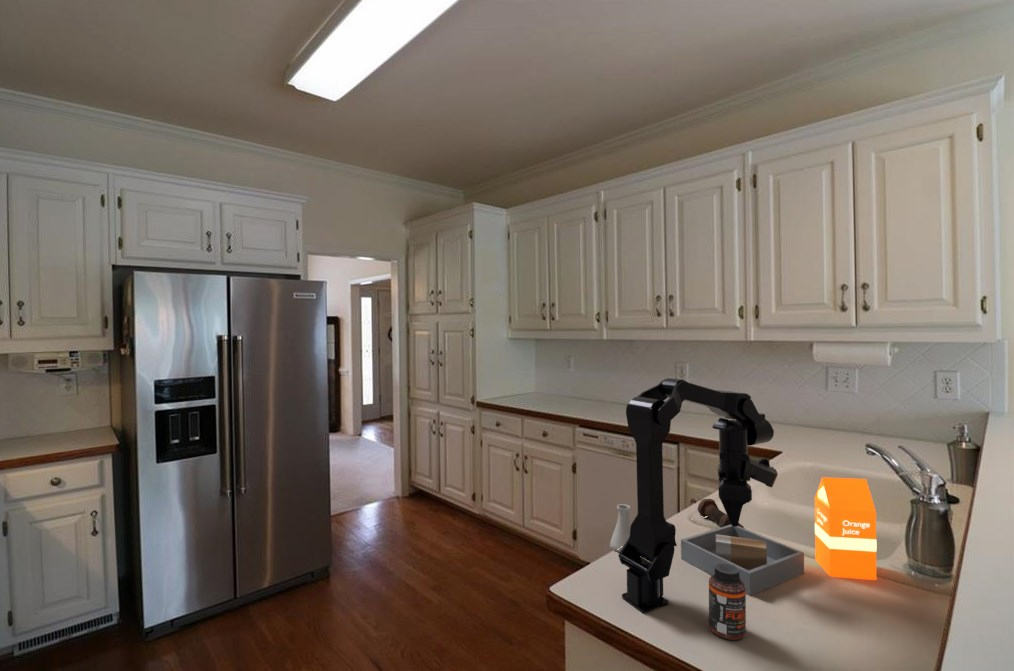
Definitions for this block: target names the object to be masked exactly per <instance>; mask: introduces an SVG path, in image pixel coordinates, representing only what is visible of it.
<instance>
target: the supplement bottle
mask: <svg viewBox="0 0 1014 671" xmlns="http://www.w3.org/2000/svg"><path fill="white" fill-rule="evenodd" d="M714 572H715V574H714V575H710V577H709V580H708V626H709V629H710V631H712V633H714V634H715V635H716V636H718V637H719V638H722V639H725V640H729V641H739V640H741V639H743V638H745V636H746V630H747V627H746V626H747V625H746V624H747V615H746V614H747V612H746V608H747V605H746V604H747V602H746V601H747V599H746V598H747V597H746V595H747V594H746V589H745V584H744V583H743V581H742V580H741V579H739V578H740V575H739V569H738V568H737V567H736V566H734V565H732V564H728V563H718V564H716V565H715V571H714Z"/></svg>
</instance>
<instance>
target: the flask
mask: <svg viewBox="0 0 1014 671" xmlns="http://www.w3.org/2000/svg"><path fill="white" fill-rule="evenodd" d="M616 510H617V512H618V515H617V521H616V524H615V528H614V530H613V534H612V536H611V540H610V542H609V546H608V547H609V549H611V550H614V551H616V552H618V553H620V551H621V550H622V548H623V547H622V548H620V547H621V546H624V545H625V543H626V542H627V540H628V538H629V537H630V528H631V524H632V521H631V518H630V510H631V505H628V504H625V503H624V504H622V503H620V504H617V505H616ZM618 548H620V549H619V550H617V549H618Z"/></svg>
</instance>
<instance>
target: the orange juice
mask: <svg viewBox="0 0 1014 671" xmlns="http://www.w3.org/2000/svg"><path fill="white" fill-rule="evenodd" d="M818 485H819V486H818V488H817V491H816V493H815V496H814V537H815V538H814V541H815V542H814V544H815V545H814V546H815V548H814V552H815V553H814V554H815V555H814V556H815V558H814V559H815V561H816V562H817V563H818V565H820V567H821V568H822V569H823V570H824V572H825V573H827V575H828V576H829V577H830V578H841V579H842V578H844V579H857V580H868V581H869V580H870V581H877V550H878V549H877V546H878V545H877V543H878V542H877V541H878V540H877V511H876V508H875V504H874V501H873V497H872V493H871V490H870V488H869V484H868V482H867V478H849V477H848V478H847V477H845V478H844V477H825V476H823V477H821V480H820V483H819V484H818Z"/></svg>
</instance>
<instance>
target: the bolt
mask: <svg viewBox="0 0 1014 671" xmlns="http://www.w3.org/2000/svg"><path fill="white" fill-rule="evenodd" d="M697 511H698V513H699V515H700V516H703V517H705V516H708V517H709V518H708V519H711V520H713V521H714V522H716V523H717V524H718V525H719V526H720V527H719V528H721V527H724V526H727V525H731V523H730V520H729V518H728V516H727V513H726V512H725V513H724V512H723V511H722V510H721V509H720V508H719V507H718V504H717V503H716V501H715V500H714V499H713V498H704V499H702V500H700V502H699V503H698V506H697ZM703 517H702V518H703ZM739 522H740V521H739ZM739 522H738V526H739V527H742V528H744V529H746V528H745V527H744V525H742V524H741V523H739Z"/></svg>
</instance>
